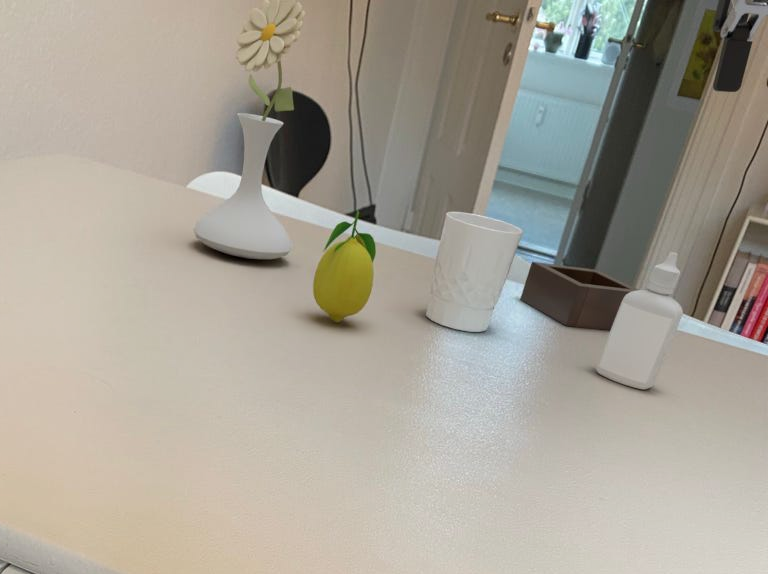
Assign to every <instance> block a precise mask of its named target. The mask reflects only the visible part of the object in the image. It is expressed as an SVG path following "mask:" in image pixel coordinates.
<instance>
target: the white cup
mask: <svg viewBox="0 0 768 574" xmlns="http://www.w3.org/2000/svg"><path fill="white" fill-rule="evenodd" d="M523 233H524V231H523V229H522V228H520V227H518V226H517V225H514V224H511V223H509V222H506V221H503V220H500V219H496V218H493V217H489V216H484V215H479V214H475V213H470V212H464V211H463V212H462V211H448V212H446V213H445V218H444V221H443V226H442V231H441V235H440V239H439V244H438V249H437V254H436V258H435V263H434V268H433V272H432V280H431V283H430V292H429V298H428V303H427V307H426V313H425V316H426V317H427V318H428V319H429V320H430V321H432V322H434V323H436V324H438V325H441V326H444V327H446V328H450V329H454V330H458V331H465V332H471V333H481V332H484V331H487V330H488V328H489V324H490V322H491V319H492V316H493V313H494V311H495V307H496V305H497V304H498V302H499V300H500V297H501V294H502V293H503V289H504V286H505V283H506V281H507V279H508V276H509V273H510V270H511V267H512V264H513V261H514V258H515V256H516V253H517V251H518V247H519V244H520V241H521V239H522V236H523Z"/></svg>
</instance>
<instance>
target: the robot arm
mask: <svg viewBox="0 0 768 574" xmlns="http://www.w3.org/2000/svg"><path fill="white" fill-rule="evenodd" d="M730 5H732V8H731V9H730ZM729 9H730V12H729ZM728 12H729V13H728ZM749 15H750V16H749ZM767 16H768V0H718V2H717V6H716V10H715V13H714V17H713V20H712V26H711V27H712V32H719V33H720V38H721V39H723V43H722V46H721V47H722V48H721V51H720V55H719V59H718V63H717V67H716V72H715V76H714V79H713V83H712V88H713V90H714V91H715V92H720V93H721V92H723V93H736V92H738V91H739V90H740V89H741V87H742V84H743V80H744V77H745V72H746V68H747V65H748V61H749V58H750V54H751V50H752V45H753V41H752V39H753V38H754V36H755V33H756V32H757V30H758V28H759V27H760V26H761V23H762V22H763V19H764V18H766V17H767ZM766 87H767V88H768V78H767V79H766Z"/></svg>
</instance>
